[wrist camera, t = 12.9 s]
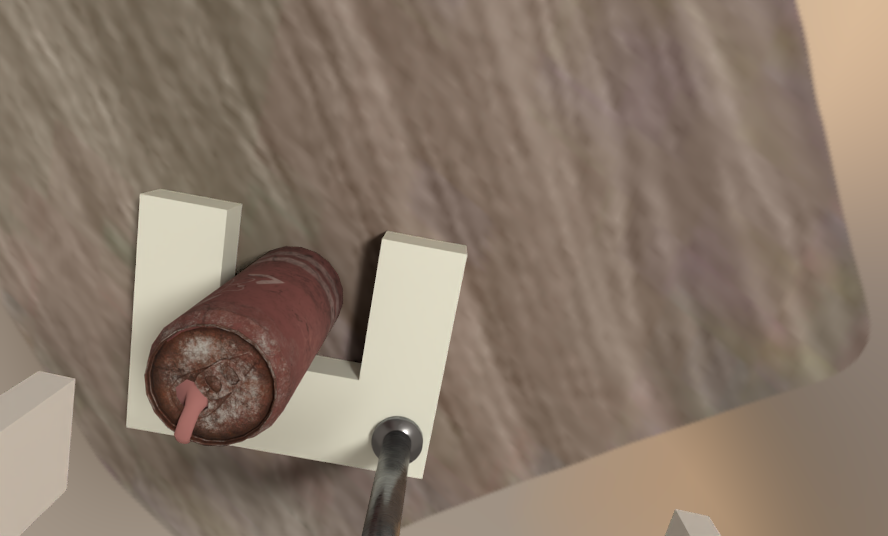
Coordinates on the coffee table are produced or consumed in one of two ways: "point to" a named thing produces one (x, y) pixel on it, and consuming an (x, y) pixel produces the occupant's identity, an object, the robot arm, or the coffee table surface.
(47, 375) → the robot arm
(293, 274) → the can
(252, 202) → the coffee table surface
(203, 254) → the u-shaped block
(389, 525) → the hook post
